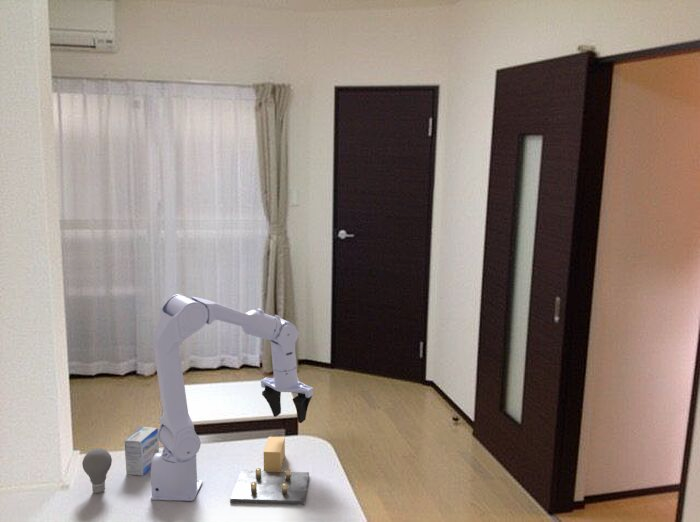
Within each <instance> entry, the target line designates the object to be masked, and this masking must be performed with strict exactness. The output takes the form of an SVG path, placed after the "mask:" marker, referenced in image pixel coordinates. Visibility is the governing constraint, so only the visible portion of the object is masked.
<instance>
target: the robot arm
mask: <svg viewBox="0 0 700 522" xmlns="http://www.w3.org/2000/svg"><path fill="white" fill-rule="evenodd" d="M159 313H160V315H159V318H158V321H157V323H156V326H155V330H154V331H153V335H152V346H153V347H152V349H153V355H154V360H155V367H156V375H157V381H158V387H159V388H158V389H159V395H160V400H161V401H160V402H161V409H162V415H161V416H160V417H159V427H158V428H159V429H158V442H159V443H161V444H162V445H163V448H162V451H161V452H160V451H159V453H156V454H155V455H154V457H153V460H152V464H151V469H150V485H151V487H150V488H151V495H150V500H153V501H155V500H157V501H183V502H184V501H186V502H193V501H194V500H195V498H196V496H197V495H198V493H199V491H200V488H201V486H202V485H203V480H201V479H198V473H197V472H198V470H197V468H198V467H197V465H198V464H197V454H198V453H199V451H200V448H201V439H200V437H199V435H198V434H197V433H196V431H195V425H194V423H193V420H192V419H191V416H190V415H189V408H188V403H187V400H188V399H187V395H186V387H185V380H184V373H183V364H182V358H181V350H180V345H182V343H183V342H184V341H186V340H187V339H188V338H190V337H191V336H192V335H194V334H195V333H197V332H198V331H200V330H201V329H202V328H203V327H204V326H205V325H206V324H207V325H211V324H213V322H215V321H221V322H224V323H228V324H232V325H236V326H239V327H241V329H242V332H244V334H246V335H250V336H253V337H256V338H259V339H263V340H266V341H270V350H271V360H272V361H271V362H272V372H273V377H266V376H265V377H264V378H262V379H261V380H260V385H261V388H263V391H262V392H261V395H262V397H264V399H265V400H266V402H267V403H268V405H269V406H268V407H269V408H270V410H271V413H272V415H273V417H276V418H277V417H278V416H279V415H281V413H282V407H281V406H282V404H281V397H282V395H281V393H292V394H297V395H296V396H295V397H293V398H292V402H293V405H294V407H295V410H296V418H297V422H298V424H299V423H300V424H302V423H303V422H304V421H306V420H307V419H306V418H307V412H308V408H309V405H310V401H311V400H312V397H313V395H314V387H313V386H309V385H307V384H305V383H303V382H301V381H300V379H299V377H298V369H297V358H296V357H297V356H296V342H297V339H298V337H299V336H300V335H299V334H300V333H299V330H297V327H296V325H295V324H294V323H292V322H290V321H288V320H285V319H283V318H282V317H281V316H280V315H277V314H274V316H273V315H270V314H267V313H265V310H263V309H260V308H257V309H250V310H248V311H247V312H243V311H241V310H238V309H236V308H233V307H229V306H227V305H224V304H222V303H218V302H216V301H213V300H210V299H206V298H201V297H197V296H189V297H188V296H187V295H185V294H182V293H177V294H173V295H171V296H170V297H169V298H168V299H167V300H166V301H165V302H164V303H163V304H162V306H161V307H160V311H159Z"/></svg>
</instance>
